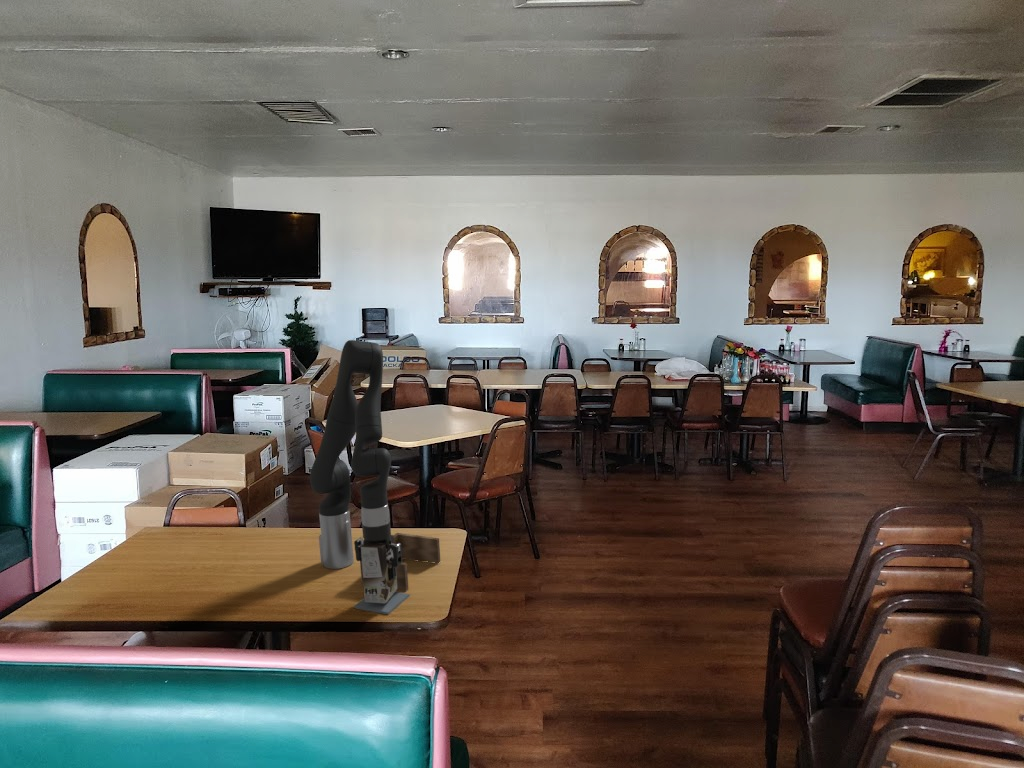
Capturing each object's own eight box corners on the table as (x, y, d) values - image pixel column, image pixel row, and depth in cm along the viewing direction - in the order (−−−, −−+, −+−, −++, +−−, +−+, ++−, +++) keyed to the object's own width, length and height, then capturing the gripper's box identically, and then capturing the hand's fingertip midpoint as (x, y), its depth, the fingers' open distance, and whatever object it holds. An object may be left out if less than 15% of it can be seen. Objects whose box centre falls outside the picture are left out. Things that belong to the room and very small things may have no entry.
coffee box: (386, 604, 187) (382, 547, 184) (364, 602, 188) (359, 546, 185) (398, 588, 196) (394, 534, 193) (377, 587, 197) (372, 533, 194)
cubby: (361, 583, 204) (359, 558, 202) (398, 556, 222) (397, 532, 221) (406, 591, 198) (404, 564, 196) (440, 562, 216) (439, 538, 215)
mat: (354, 608, 189) (353, 606, 189) (376, 590, 199) (376, 588, 199) (388, 614, 185) (388, 612, 185) (409, 596, 195) (409, 594, 195)
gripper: (345, 522, 187) (350, 579, 190) (390, 528, 182) (395, 587, 185) (361, 513, 194) (366, 568, 197) (405, 518, 189) (409, 575, 191)
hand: (380, 577), depth 191 cm, fingers closed on coffee box, 7 cm apart
